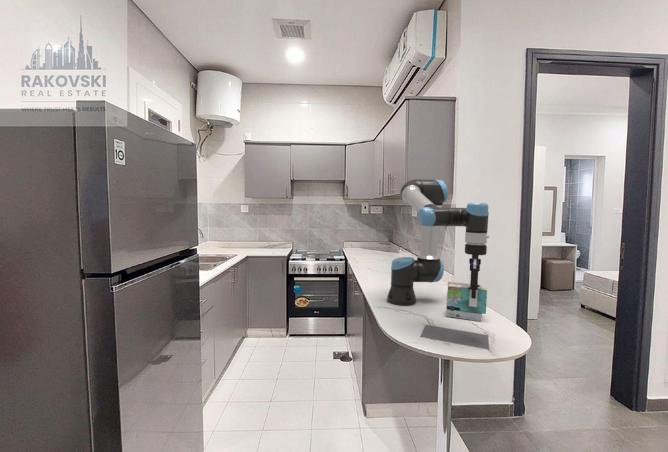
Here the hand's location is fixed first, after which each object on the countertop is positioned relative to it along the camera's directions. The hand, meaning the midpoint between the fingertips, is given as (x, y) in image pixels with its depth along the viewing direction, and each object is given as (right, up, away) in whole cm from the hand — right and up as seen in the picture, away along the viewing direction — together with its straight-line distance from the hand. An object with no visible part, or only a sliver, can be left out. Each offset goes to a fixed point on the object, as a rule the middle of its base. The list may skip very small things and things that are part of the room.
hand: (473, 304), depth 121 cm
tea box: (+7, -12, +27) cm, 31 cm away
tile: (0, -2, 0) cm, 2 cm away
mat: (-6, -13, +3) cm, 15 cm away
